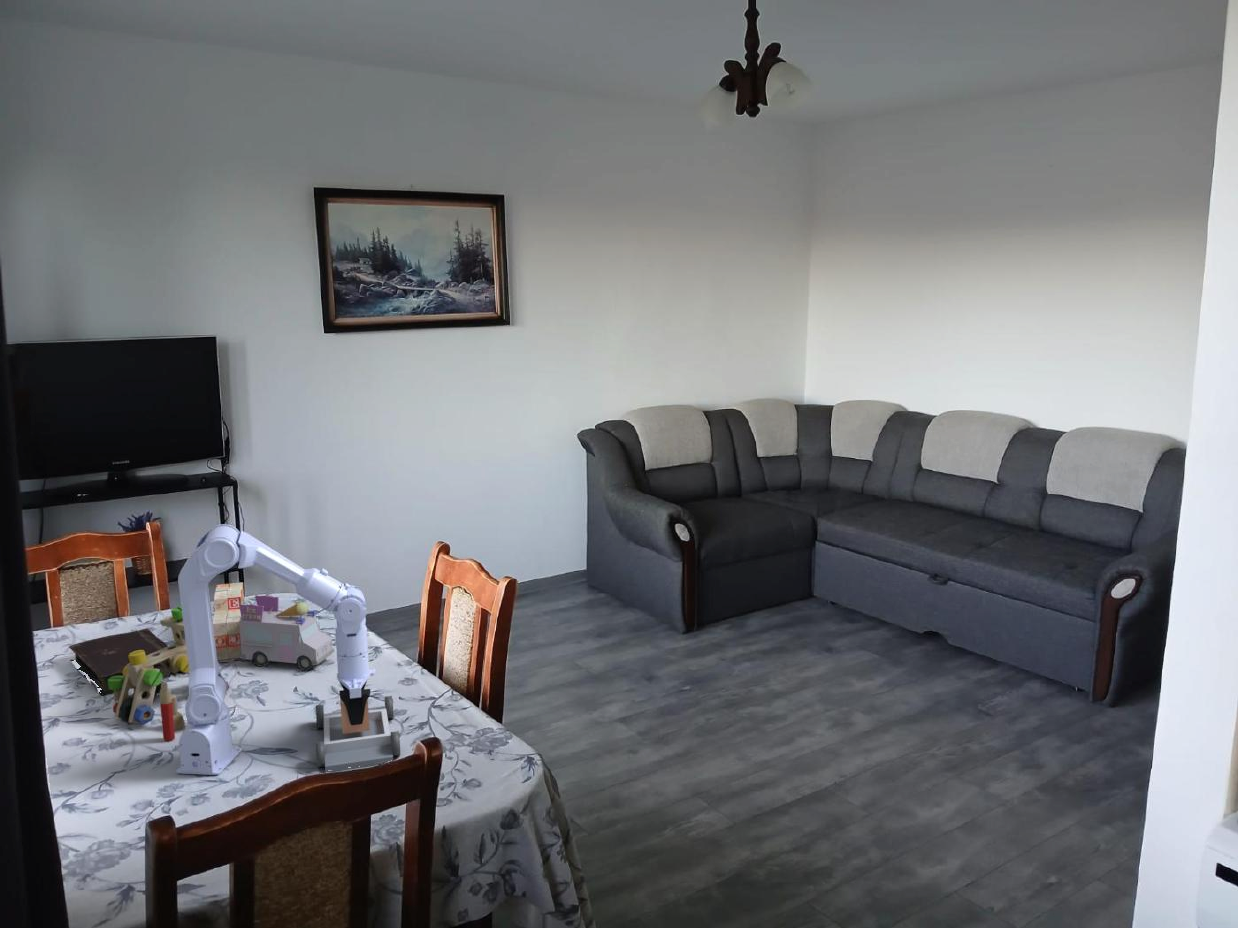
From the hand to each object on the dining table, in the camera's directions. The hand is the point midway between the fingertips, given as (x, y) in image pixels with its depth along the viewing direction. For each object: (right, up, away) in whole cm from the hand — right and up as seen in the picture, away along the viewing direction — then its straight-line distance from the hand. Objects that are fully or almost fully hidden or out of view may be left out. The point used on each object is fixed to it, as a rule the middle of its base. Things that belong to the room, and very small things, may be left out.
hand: (356, 717), depth 181 cm
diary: (-62, +1, +34) cm, 71 cm away
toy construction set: (-41, -3, +12) cm, 43 cm away
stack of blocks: (-44, +5, +49) cm, 67 cm away
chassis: (0, -5, +1) cm, 5 cm away
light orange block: (0, -2, 0) cm, 2 cm away
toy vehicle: (-26, +2, +38) cm, 46 cm away
